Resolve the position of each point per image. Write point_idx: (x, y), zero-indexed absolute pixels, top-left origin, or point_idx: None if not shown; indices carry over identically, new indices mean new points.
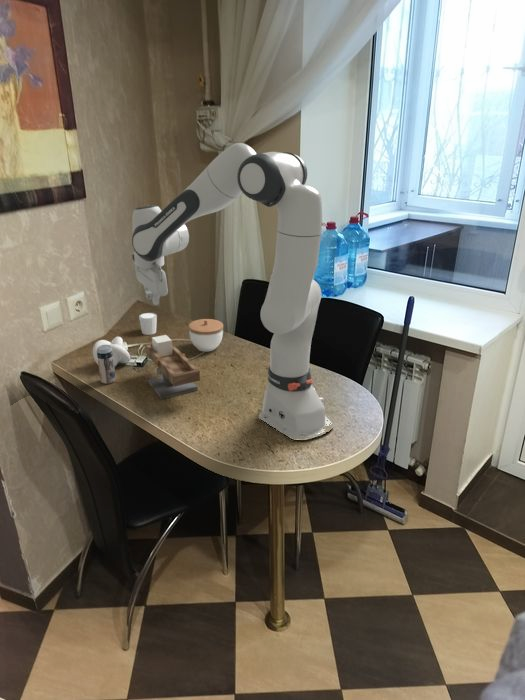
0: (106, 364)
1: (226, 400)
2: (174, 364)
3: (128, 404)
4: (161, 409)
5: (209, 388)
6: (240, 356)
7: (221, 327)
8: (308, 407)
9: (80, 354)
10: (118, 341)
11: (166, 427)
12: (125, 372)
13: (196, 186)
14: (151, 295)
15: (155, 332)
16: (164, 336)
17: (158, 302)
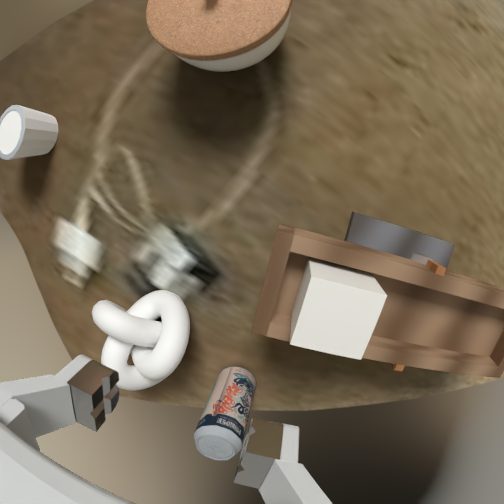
0: (246, 425)
1: None
2: (430, 311)
3: (369, 398)
4: None
5: (463, 211)
6: (361, 6)
7: None
8: None
9: (75, 339)
10: (129, 337)
11: (482, 377)
12: (221, 328)
13: None
14: (100, 396)
15: (55, 120)
16: (323, 295)
17: (296, 443)
